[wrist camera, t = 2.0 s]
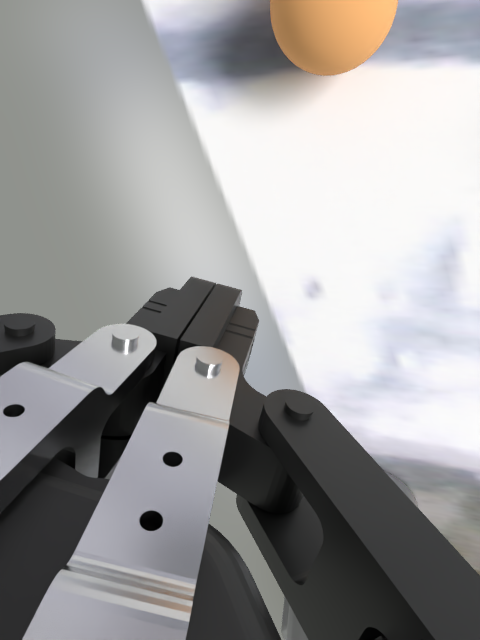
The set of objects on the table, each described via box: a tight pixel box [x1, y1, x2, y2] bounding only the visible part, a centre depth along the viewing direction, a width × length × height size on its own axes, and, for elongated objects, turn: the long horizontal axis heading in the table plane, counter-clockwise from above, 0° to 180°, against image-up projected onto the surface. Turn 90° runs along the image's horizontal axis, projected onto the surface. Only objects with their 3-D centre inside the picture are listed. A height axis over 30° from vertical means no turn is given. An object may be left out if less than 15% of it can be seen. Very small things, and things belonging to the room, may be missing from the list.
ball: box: [270, 0, 398, 76], centre depth 19 cm, size 6×6×6 cm
